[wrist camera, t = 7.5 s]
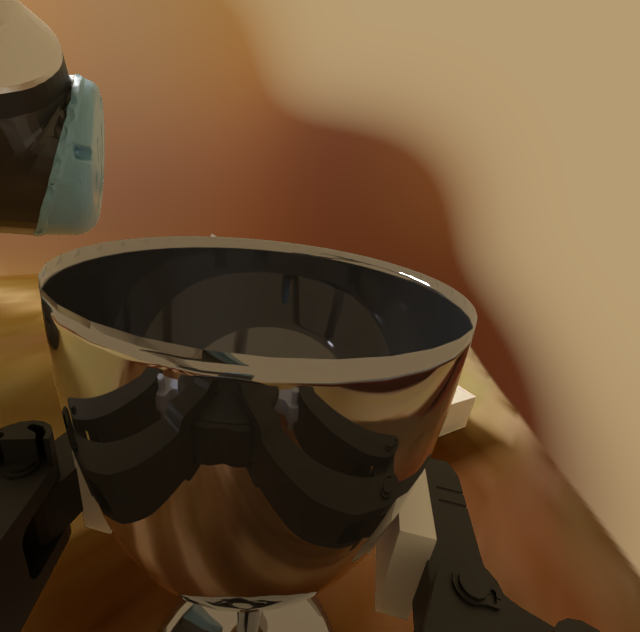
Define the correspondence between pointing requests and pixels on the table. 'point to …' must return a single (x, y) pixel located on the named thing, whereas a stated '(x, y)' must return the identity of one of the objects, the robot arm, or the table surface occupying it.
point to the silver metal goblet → (249, 411)
